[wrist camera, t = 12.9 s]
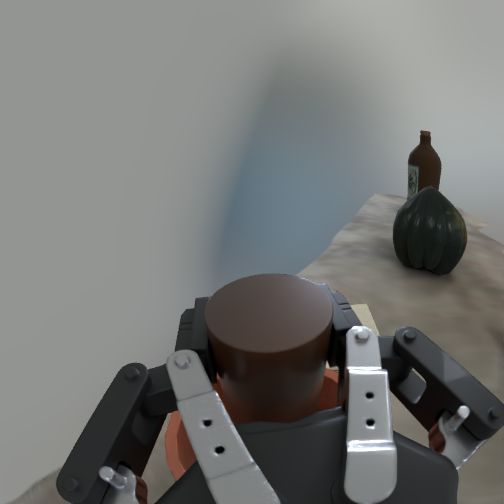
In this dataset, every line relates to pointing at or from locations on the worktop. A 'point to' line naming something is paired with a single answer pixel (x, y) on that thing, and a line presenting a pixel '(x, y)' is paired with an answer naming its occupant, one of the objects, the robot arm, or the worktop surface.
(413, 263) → the squash
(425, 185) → the olive oil
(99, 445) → the robot arm
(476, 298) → the worktop surface
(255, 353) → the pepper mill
